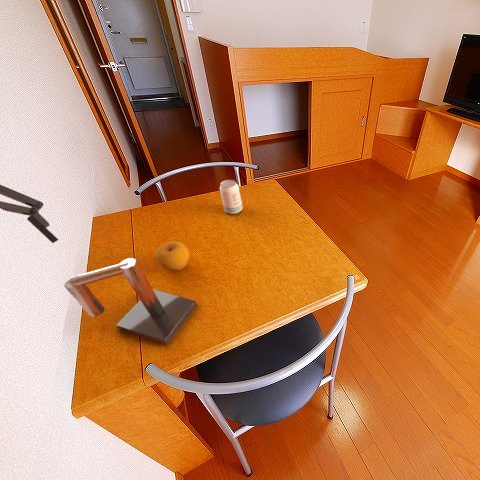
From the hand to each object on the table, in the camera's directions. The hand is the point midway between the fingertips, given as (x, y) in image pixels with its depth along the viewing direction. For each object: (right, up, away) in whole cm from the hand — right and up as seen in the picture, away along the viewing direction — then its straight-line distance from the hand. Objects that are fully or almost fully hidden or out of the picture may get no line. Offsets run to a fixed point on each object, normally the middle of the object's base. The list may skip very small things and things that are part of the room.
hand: (19, 261), depth 56 cm
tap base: (+20, -16, +15) cm, 29 cm away
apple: (+17, -4, +29) cm, 34 cm away
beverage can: (+27, +16, +53) cm, 62 cm away
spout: (+16, -15, +12) cm, 25 cm away
